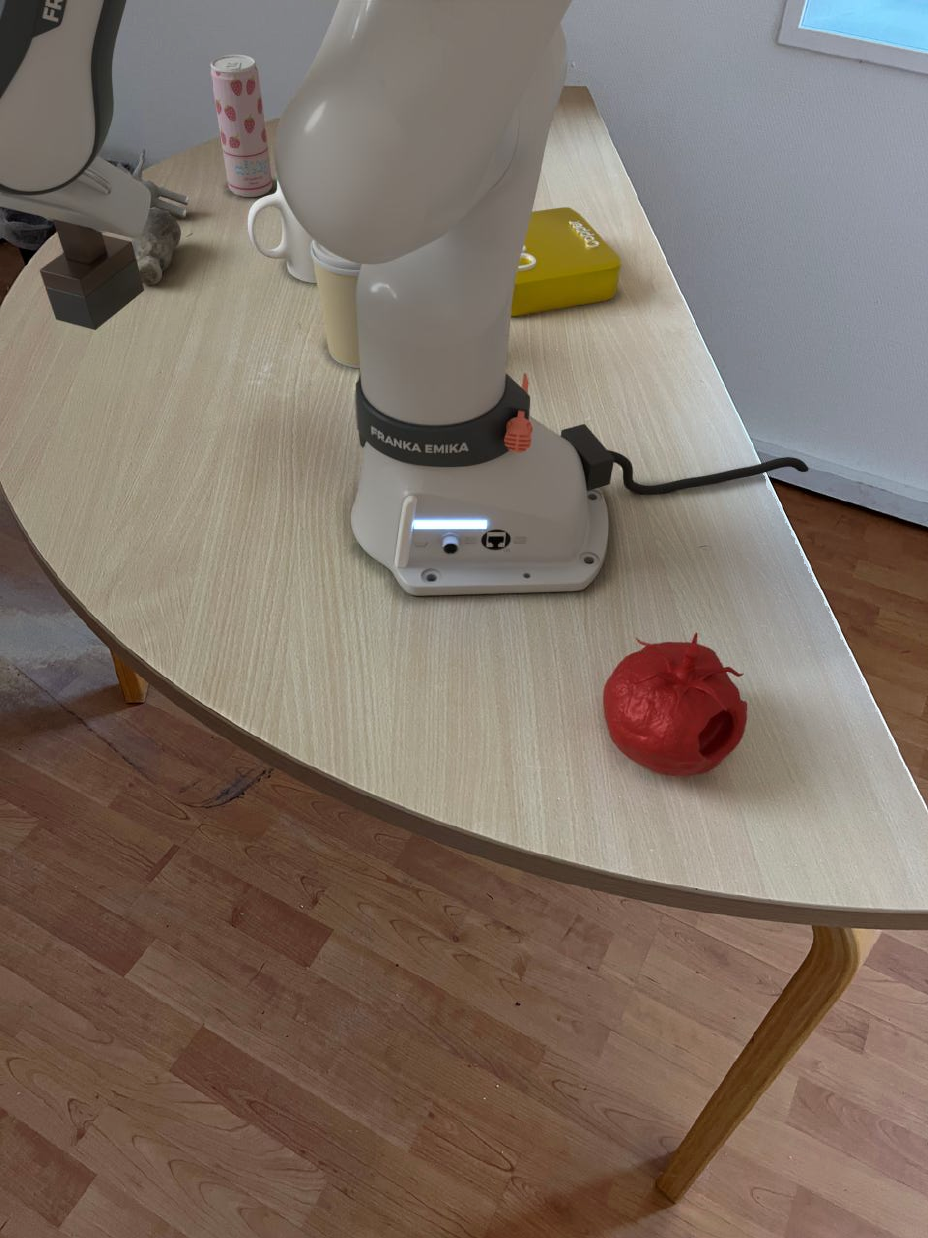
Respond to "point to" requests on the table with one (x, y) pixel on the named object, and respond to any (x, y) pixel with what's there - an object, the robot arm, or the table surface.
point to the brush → (90, 276)
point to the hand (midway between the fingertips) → (80, 216)
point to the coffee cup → (338, 303)
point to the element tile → (563, 264)
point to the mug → (286, 237)
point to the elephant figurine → (158, 191)
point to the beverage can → (241, 124)
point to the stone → (156, 245)
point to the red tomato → (674, 708)
